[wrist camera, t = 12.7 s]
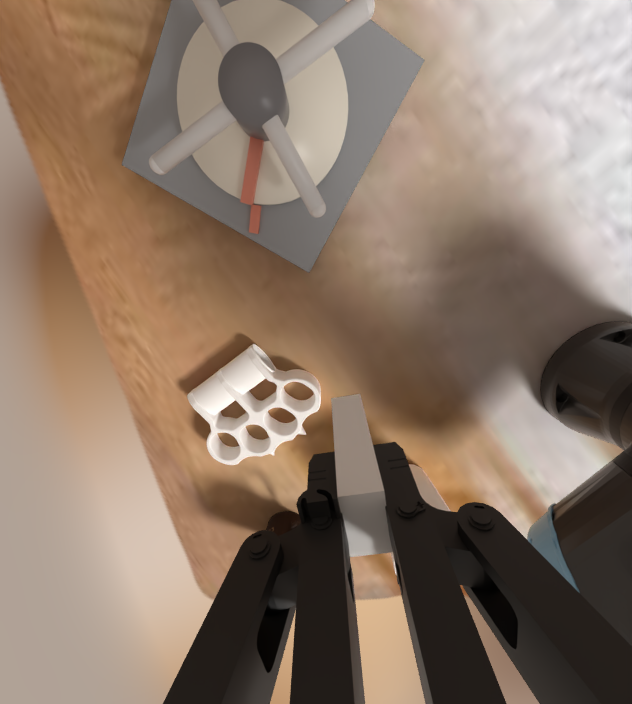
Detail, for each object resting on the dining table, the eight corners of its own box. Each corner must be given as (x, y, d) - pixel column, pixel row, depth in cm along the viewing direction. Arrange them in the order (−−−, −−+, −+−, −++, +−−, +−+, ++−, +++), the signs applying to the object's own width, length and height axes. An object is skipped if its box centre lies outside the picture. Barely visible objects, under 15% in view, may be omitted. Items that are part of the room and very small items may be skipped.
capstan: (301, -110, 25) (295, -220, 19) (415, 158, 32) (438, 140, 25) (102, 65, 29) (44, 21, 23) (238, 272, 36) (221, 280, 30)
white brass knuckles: (274, 326, 41) (340, 406, 44) (176, 400, 45) (245, 468, 48) (270, 333, 37) (342, 419, 41) (165, 413, 41) (240, 484, 45)
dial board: (418, 70, 31) (425, 57, 29) (309, 271, 38) (308, 273, 35) (211, -82, 28) (201, -111, 25) (132, 168, 34) (119, 163, 32)
